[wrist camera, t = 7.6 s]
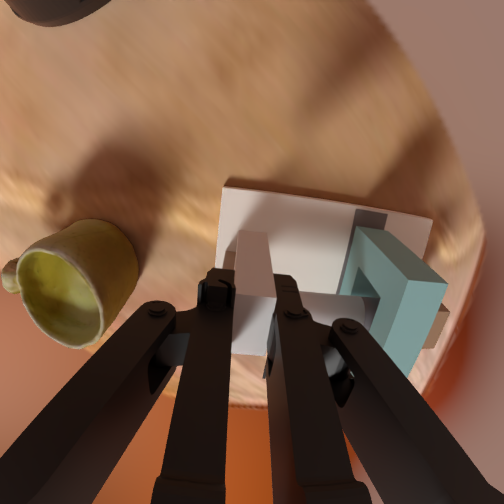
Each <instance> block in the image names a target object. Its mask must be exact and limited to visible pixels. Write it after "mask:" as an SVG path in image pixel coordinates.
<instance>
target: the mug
mask: <svg viewBox="0 0 504 504" xmlns="http://www.w3.org/2000/svg"><path fill="white" fill-rule="evenodd" d="M138 273H139V266H138V260H137V258H136V255H135V251H134V249H133V246H132V244H131V243H130V242H129V240H128V239H127V237H126V236H125V235H124V234H123V233H122V232H121V230H120V229H118V227H116V226H115V225H113V224H111V223H109V222H106V221H102V220H99V219H84V220H79V221H76V222H75V223H73V224H72V225H70V226H69V227H67V228H66V229H64V230H62V231H59V232H57V233H55V234H53V235H50V236H48V237H45V238H43V239H41V240H39V241H37V242H35V243H34V244H32V245H31V246H30V247H29V248H28V249H26V250H25V252H24V253H23V254H22V255H21V256H20V257H19V258H16V259H13V260H10V261H9V262H8V263H7V264H6V265H5V267H4V268H3V269H2V273H1V278H2V283H3V287H4V288H5V289H6V290H7V291H9V292H10V293H13V294H17V293H21V297H22V301H23V305H24V307H25V308H26V310H27V312H28V313H29V315H30V317H31V318H32V319H33V321H34V323H35V324H36V325H37V326H38V328H39V329H40V330H41V331H42V332H44V333H45V334H46V335H47V336H49V337H50V338H51V339H53V340H54V341H56V342H58V343H60V344H62V345H64V346H66V347H68V348H74V349H83V348H85V347H87V346H89V345H92V344H95V343H96V342H97V341H98V340H99V339H100V338H101V337H102V335H103V334H104V333H105V331H106V330H107V329H108V327H109V326H110V325H111V324H112V323H113V321H114V320H115V319H116V317H117V315H118V314H119V312H120V311H121V309H122V308H123V306H124V305H125V303H126V301H127V300H128V298H129V297H130V295H131V294H132V293H133V291H134V289H135V287H136V284H137V280H138Z"/></svg>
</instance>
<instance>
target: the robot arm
mask: <svg viewBox="0 0 504 504" xmlns="http://www.w3.org/2000/svg"><path fill="white" fill-rule="evenodd" d="M4 1H5V2H6V3H7V4H8V5H9V6H10V8H11V9H12V11H13V12H14V13H15V14H16V15H17V16H18V17H19V18H21V19H22V20H24V21H27V22H30V23H33V24H35V25H38V26H43V27H56V26H61V25H66V24H69V23H72V22H75V21H77V20H79V19H82V18H84V17H86V16H88V15H90V14H91V13H93V12H95V11H96V10H98V9H100V8H101V7H103V6H104V5H105V4H107V3H108V2H109V1H111V0H4ZM266 350H267V353H268V355H267V360H266V365H265V369H264V374H263V378H264V379H265V378H266V382H267V399H268V415H269V433H270V450H271V468H272V488H273V504H372V501H371V497H370V493H369V490H368V488H367V486H366V485H365V484H364V483H363V482H360V481H356V479H355V478H354V475H353V472H352V468H351V464H350V459H349V455H348V451H347V447H346V442H345V438H344V434H343V431H344V433H345V435H346V437H347V438H348V440H349V442H350V444H351V445H352V447H353V449H354V451H355V453H356V454H357V456H358V458H359V460H360V462H361V463H362V465H363V467H364V469H365V470H366V472H367V474H368V476H369V477H370V479H371V481H372V483H373V485H374V486H375V488H376V490H377V492H378V494H379V495H380V497H381V499H382V501H383V502H384V504H504V494H502V493H501V492H500V491H498V490H497V489H495V488H494V487H493V486H491V485H490V484H488V482H487V481H486V480H485V478H484V477H483V476H482V474H481V473H480V471H479V470H478V469H477V467H476V466H475V465H474V464H473V462H472V461H471V459H470V458H469V457H468V455H467V454H466V453H465V452H464V450H463V449H462V447H461V446H460V445H459V444H458V442H457V441H456V440H455V438H454V437H453V436H452V435H451V433H450V432H449V431H448V429H447V428H446V427H445V425H444V424H443V423H442V422H441V420H440V419H439V418H438V416H437V415H436V414H435V413H434V411H433V410H432V409H431V408H430V406H429V405H428V404H427V402H426V401H425V400H424V399H423V397H422V396H421V395H420V394H419V392H418V391H417V390H416V389H415V387H414V386H413V385H412V384H411V383H410V381H409V380H408V379H407V378H406V376H405V375H404V374H403V373H402V371H401V370H400V369H399V368H398V367H397V365H396V364H395V363H394V362H393V360H392V359H391V358H390V357H389V356H388V354H387V353H386V352H385V351H384V350H383V348H382V347H381V346H380V345H379V344H378V342H377V341H376V340H375V339H374V338H373V336H372V335H371V334H370V333H369V332H368V331H367V329H366V328H365V327H364V326H363V325H362V324H361V323H360V322H358V321H356V320H354V319H350V318H338V319H336V320H334V321H333V323H332V326H329V325H325V324H321V323H318V322H316V321H314V320H313V318H312V315H311V313H310V312H309V311H308V310H307V309H306V308H304V307H303V304H302V301H301V297H300V293H299V289H298V286H297V282H296V280H295V279H294V278H293V277H292V276H291V275H285V274H275V273H273V269H272V263H271V256H270V250H269V243H268V237H267V233H264V232H255V231H246V230H239V232H238V240H237V249H236V257H235V266H234V270H230V269H221V268H212V269H211V270H210V271H208V272H207V276H206V278H205V279H203V280H201V281H200V282H199V284H198V298H197V307H195V308H193V309H191V310H187V311H178V312H176V310H175V307H174V306H173V305H172V304H170V303H168V302H165V301H150V302H146V303H144V304H143V305H141V306H140V307H139V308H138V309H137V310H136V311H135V312H134V313H133V314H132V315H131V316H130V317H129V318H128V319H127V320H126V321H125V323H124V324H123V325H122V326H121V327H120V328H119V329H118V330H117V331H116V332H115V333H114V334H113V335H112V336H111V337H110V338H109V339H108V340H107V341H106V342H105V343H104V344H103V345H102V346H101V347H100V348H99V349H98V350H97V352H96V353H95V354H94V355H93V356H92V357H91V358H90V359H89V360H88V361H87V362H86V363H85V364H84V365H83V366H82V367H81V368H80V370H79V371H78V372H77V373H76V374H75V375H74V376H73V377H72V378H71V379H70V380H69V381H68V383H66V385H65V386H64V387H63V388H62V389H61V390H60V391H59V392H58V393H57V394H56V395H55V397H54V398H53V399H52V400H51V401H50V402H49V403H48V405H46V406H45V408H44V409H43V410H42V411H41V412H40V413H39V414H38V415H37V417H36V418H35V419H34V420H33V421H32V422H31V423H30V425H29V426H28V427H27V428H26V429H25V430H24V431H23V432H22V434H21V435H20V436H19V437H18V438H17V439H16V441H15V442H14V443H13V444H12V445H11V446H10V448H9V449H8V450H7V451H6V452H5V453H4V454H3V456H2V457H1V458H0V504H92V502H93V501H94V499H95V497H96V496H97V494H98V493H99V491H100V490H101V488H102V487H103V485H104V483H105V481H106V480H107V479H108V477H109V475H110V474H111V472H112V471H113V469H114V467H115V466H116V464H117V463H118V461H119V459H120V458H121V456H122V455H123V453H124V451H125V450H126V448H127V446H128V445H129V443H130V442H131V440H132V439H133V437H134V436H135V434H136V432H137V431H138V429H139V428H140V426H141V424H142V423H143V421H144V420H145V418H146V416H147V415H148V413H149V412H150V410H151V409H152V407H153V405H154V404H155V402H156V400H157V399H158V397H159V396H160V394H161V393H162V391H163V389H164V388H165V386H166V385H167V383H168V382H169V380H170V378H171V377H172V375H173V374H174V372H175V370H176V367H177V366H180V365H183V367H182V372H181V376H180V381H179V386H178V390H177V395H176V400H175V404H174V409H173V414H172V419H171V424H170V429H169V434H168V439H167V444H166V449H165V454H164V459H163V465H162V470H161V474H160V476H158V477H157V478H156V481H155V485H154V488H153V493H152V499H151V504H225V493H226V491H225V490H226V488H225V464H226V441H227V421H228V420H227V419H228V402H229V383H230V365H231V353H235V354H246V355H258V356H265V355H266ZM350 372H352V374H353V376H354V377H353V376H352V374H351V373H350ZM342 429H343V430H342Z"/></svg>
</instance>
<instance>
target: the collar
mask: <svg viewBox="0 0 504 504" xmlns="http://www.w3.org/2000/svg"><path fill="white" fill-rule="evenodd" d="M447 286H448V283H447V282H446V281H445V280H444V279H442V278H441V277H440V276H439V275H438V274H437V273H436V272H435V271H434V270H433V269H431V268H430V267H429V266H428V265H427V264H426V263H425V262H424V261H423V260H421V259H420V258H419V257H418V256H417V255H416V254H415V253H413V252H412V251H411V250H410V249H409V248H408V247H406V246H405V245H404V244H403V243H402V242H401V241H399V240H398V239H397V238H396V237H395V236H393V235H392V234H391V233H390V232H389V231H386V230H380V229H373V228H367V227H360V226H356V229H355V233H354V237H353V242H352V246H351V250H350V254H349V258H348V262H347V266H346V270H345V274H344V278H343V282H342V286H341V289H340V293H339V295H350V296H362V297H375V298H381V299H380V302H379V305H378V308H377V311H376V314H375V316H374V319H373V322H372V325H371V328H370V330H369V333H370V334H371V335H372V336H373V338H374V339H375V340H376V341H377V342H378V344H379V345H380V346H381V347H382V348H383V350H384V351H385V352H386V353H387V354H388V356H389V357H390V358H391V359H392V360H393V362H394V363H395V364H396V365H397V367H398V368H399V369H400V370H401V371H402V373H403V374H404V375H405V376H406V378H407V377H408V375H409V373H410V371H411V369H412V367H413V365H414V363H415V361H416V359H417V357H418V355H419V353H420V351H421V349H422V347H423V344H424V342H425V340H426V338H427V336H428V333H429V331H430V329H431V326H432V324H433V322H434V319H435V317H436V314H437V312H438V310H439V307H440V305H441V302H442V299H443V297H444V294H445V291H446V289H447ZM350 373H351V374H352V372H350ZM352 376H353V374H352ZM353 377H354V376H353Z"/></svg>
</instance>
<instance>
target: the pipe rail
mask: <svg viewBox="0 0 504 504" xmlns="http://www.w3.org/2000/svg"><path fill="white" fill-rule="evenodd" d="M432 224H433V220H432V219H430V218H426V217H422V216H417V215H412V214H406V213H401V212H396V211H391V210H385V209H380V208H374V207H369V206H363V205H357V204H351V203H345V202H339V201H333V200H326V199H320V198H313V197H307V196H300V195H293V194H285V193H278V192H270V191H263V190H255V189H246V188H238V187H229V186H223V190H222V200H221V209H220V219H219V229H218V240H217V250H216V261H215V268H221V269H230V270H234V266H235V257H236V249H237V240H238V232H239V230H246V231H255V232H264V233H267V237H268V243H269V250H270V256H271V263H272V269H273V273H275V274H285V275H291V276H292V277H293V278H294V279H295V280H296V282H297V286H298V289H299V293H300V297H301V301H302V304H303V307H304V308H306V309H307V310H308V311H309V312H310V313H311V315H312V318H313V320H314V321H316V322H318V323H321V324H325V325H329V326H332V323H333V321H334V320H336V319H338V318H350V319H354V320H356V321H358V322H360V323H361V324H362V325H363V326H364V327H365V328H366V329H367V331H368V332H369V330H370V328H371V325H372V322H373V319H374V316H375V314H376V311H377V308H378V305H379V302H380V299H381V298H375V297H362V296H350V295H339V293H340V289H341V286H342V282H343V278H344V274H345V270H346V266H347V262H348V258H349V254H350V250H351V246H352V242H353V237H354V233H355V229H356V226H360V227H367V228H373V229H380V230H386V231H389V232H390V233H391V234H392V235H393V236H395V237H396V238H397V239H398V240H399V241H401V242H402V243H403V244H404V245H405V246H406V247H408V248H409V249H410V250H411V251H412V252H413V253H415V254H416V255H417V256H418V257H419V258H420V259H421V260H422V259H423V256H424V252H425V249H426V245H427V242H428V238H429V235H430V231H431V227H432ZM449 313H450V311H449V310H448V309H447V308H446V307H445V306H444V305H443V304H442V303H441V305H440V307H439V310H438V312H437V314H436V317H435V319H434V322H433V324H432V326H431V329H430V331H429V333H428V336H427V338H426V340H425V342H424V344H423V347H422V349H430V348H434V347H435V345H436V343H437V341H438V338H439V336H440V334H441V332H442V330H443V327H444V325H445V323H446V320H447V318H448V316H449Z"/></svg>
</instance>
